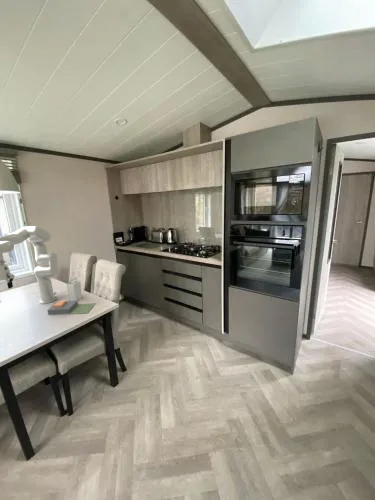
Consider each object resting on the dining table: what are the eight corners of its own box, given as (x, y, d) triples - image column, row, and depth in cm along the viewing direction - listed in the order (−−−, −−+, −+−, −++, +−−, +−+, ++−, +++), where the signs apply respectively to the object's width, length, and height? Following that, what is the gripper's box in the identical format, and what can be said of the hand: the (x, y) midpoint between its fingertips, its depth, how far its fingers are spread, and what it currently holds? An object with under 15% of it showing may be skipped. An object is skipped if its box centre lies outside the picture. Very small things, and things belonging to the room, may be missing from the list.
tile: (59, 303, 175) (58, 300, 175) (66, 302, 175) (66, 300, 175) (53, 307, 167) (53, 305, 167) (61, 307, 168) (61, 305, 167)
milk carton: (69, 300, 188) (65, 279, 184) (76, 297, 195) (72, 276, 190) (76, 301, 186) (72, 280, 182) (82, 297, 193) (79, 277, 188)
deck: (58, 305, 179) (57, 301, 178) (78, 304, 179) (77, 300, 178) (48, 314, 165) (47, 310, 165) (69, 313, 166) (68, 308, 165)
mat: (78, 304, 180) (78, 303, 180) (95, 303, 180) (95, 303, 180) (68, 314, 165) (68, 313, 165) (87, 313, 165) (87, 312, 165)
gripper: (15, 260, 142) (20, 285, 146) (-12, 261, 142) (-6, 286, 146) (5, 264, 135) (12, 289, 139) (-23, 265, 135) (-15, 291, 139)
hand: (3, 288), depth 142 cm, fingers open, 9 cm apart
